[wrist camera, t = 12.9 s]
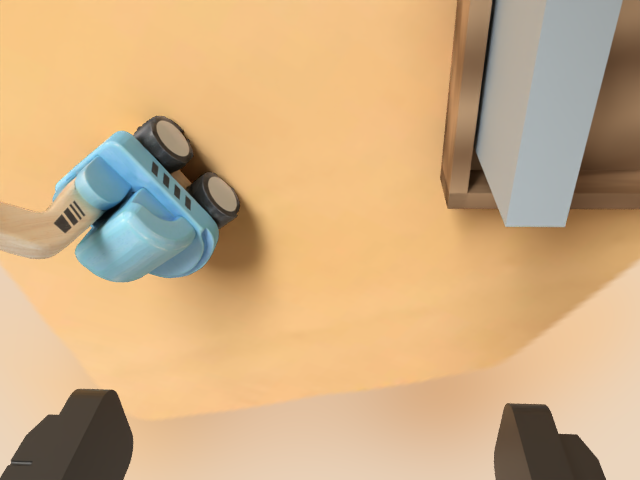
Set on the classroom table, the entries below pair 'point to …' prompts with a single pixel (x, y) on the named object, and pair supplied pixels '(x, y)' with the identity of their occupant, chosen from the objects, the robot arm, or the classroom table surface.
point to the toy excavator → (129, 209)
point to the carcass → (605, 132)
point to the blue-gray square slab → (540, 102)
